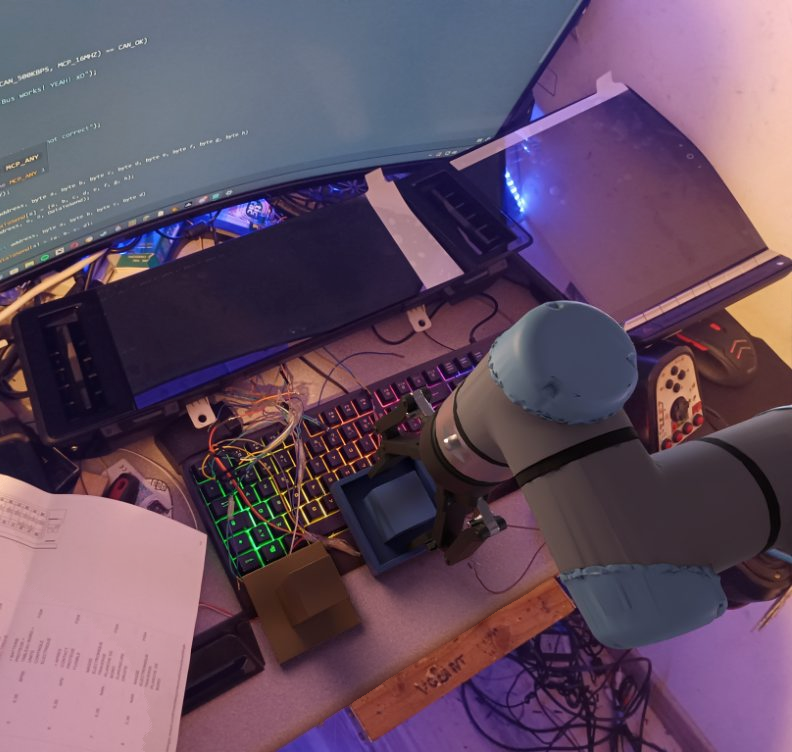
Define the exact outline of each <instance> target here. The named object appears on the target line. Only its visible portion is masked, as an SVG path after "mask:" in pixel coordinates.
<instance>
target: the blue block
mask: <svg viewBox="0 0 792 752" xmlns="http://www.w3.org/2000/svg"><path fill="white" fill-rule="evenodd" d="M362 502H363V504H364V506H365V508H366V510H367V512H368V514H369V516H370V517H371V519H372V521H373V523H374V525H375V527H376V529H377V531H378V533H379V535H380V537H381V539H382V541H383V543H384V544H385V543H387V542H389V541H391V540H393V539H395V538H397V537H399V536H401V535H403V534H405V533H408V532H410V531H412V530H414V529H416V528H418V527H420V526H422V525H424V524H425V523H427V522H428V521H430V520H431V519H433V518H434V517H435V516H436V509H435V507H434V505H433V503H432V502H431V500H430V498H429V496H428V494H427V492H426V490H425V489H424V487H423V485H422V483H421V481H420V479H419V478H418V476H417V474H416V472H415V471H412V472H410V473H408V474H405V475H403V476H401V477H399V478H397V479H394V480H392V481H390V482H388V483H386V484H383V485H381V486H379V487H377V488H375V489H373V490H372V491H371V492H370V493H369V494H368V495H367V496H366V498H365V499H364V500H363V501H362Z"/></svg>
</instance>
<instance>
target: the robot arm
mask: <svg viewBox="0 0 792 752" xmlns="http://www.w3.org/2000/svg"><path fill="white" fill-rule="evenodd" d="M637 355H638V353H637V350H636V347H635V344H634V342H633V341H632V339H631V337H630V336H629V334H628V333H627V331H626V330H625V329H624V328H623V327H622V325H621V324H620V323H618V322H617V321H616V320H615V319H614V318H613V317H611V316H610V314H608V313H606V312H605V311H603V310H601V309H599V308H598V307H596V306H593V305H591V304H588V303H584V302H581V301H576V300H556V301H555V300H554V301H546V302H544V303H541V305H537V306H536V307H534V308H532V309H530V310H529V311H528V312H527V313H525V314H524V315H523V316H522V317H521V318H520V319H519V320H517V322H515V323H514V324H513V325H512V326H511V327H510V328H509V329H507V330H505V331H504V332H503V333H501V335H500V336H497V337H496V338H495V340H494V342H493V343H492V344H491V346H490V349H489V351H488V352H487V353H486V354H485V356H484V357H482V359H481V360H480V361H479V363H478V364H477V365H476V366H475V367H474V368H473V370H472V371H471V372H470V373H469V374H467V376H466V377H464V379H463V380H462V381H461V382H459V384H458V385H457V386H456V388H455V389H454V390H453V391H452V392H451V393H450V395H448V396H447V397H446V398H445V400H444V401H443V402H442V403H441V404H440V405H439V406H438V408H436V410H434V408H433V406H432V404H431V400H432V397H433V396H432V392H431V390H430V388H429V387H428V386H427V385H425V386H422V387H420V388H418V389H415V390H413V391H410V392H407V393H406V394H403V395H401V396H400V398H399V400H398V403H397V406H396V407H395V408H394V409H392V410H391V411H389V412H388V413H386V414H385V415H384V416H381V417H380V418H379V419H377V420H376V421H374V422H373V423H372V429H373V431H374V433H375V434H376V435H380V437H381V441H379V446H378V447H377V449H376V451H375V454H376V456H377V458H378V459H377V460H376V462H375V463H374V464H375V465H374V464H373V465H374V466H373V467H372V468H371V470H370V471H369V472H368V475H369V477H370V479H373V478H375V477H377V476H380V475H382V474H384V473H386V472H388V471H391V470H393V469H394V468H395V467H396V465H397V464H398V463H399V462H400V461H401V460H402V459H403V458H404V457H405V456H411V459H412V460H419V461H422V462H423V465H424V467H425V469H426V470H427V472H428V473H429V475H430V476H431V477H432V479H433V480H434V482H435V485H436V493H435V499H434V501H435V502H436V504H437V505H438V506H437V511H436V517H435V522H434V527H433V529H432V530H430V531H427V532H425V533H424V534H422V535H421V536H419V537H418V538H416V539H415V540H413V541H412V542H410V543H409V544H407V545H405V546H406V548H407V550H408V552H411V551H413V550H415V549H417V548H419V547H421V546H423V545H425V547H426V549H427V550H426V551H427V552H428V553H429V554H434V553H437V552H438V551H440V550H441V551H443V555H442V558H443V560H444V563H445V564H446V566H448V567H452V566H454V565H456V564H458V563H460V562H462V561H464V560H466V559H468V558H471V557H472V556H473V555H474V554H475V553H476V552H477V551H478V550H479V549H480V548H481V547H482V546H483V545H484V543H485V542H486V541H487V540H488V539H489V538H492V537H493V536H495V535H498V534H499V533H501V532H503V531H506V530H507V529H508V523H507V521H506V519H505V518H504V517H503V516H502V515H495V512H494V511H492V510H491V509H490V506H489V504H488V502H489V500H490V498H491V493H492V491H494V490H495V489H497V488H498V487H500V486H501V485H503V484H505V483H506V482H508V481H509V480H510V479H512V478H513V477H514V478H515V480H516V482H517V484H518V487H519V488H520V491H521V492H522V495H523V497H524V499H525V502H526V503H527V505H528V507H529V510H530V512H531V514H532V516H533V518H534V521H535V522H536V525H537V528H538V529H539V531H540V533H541V536H542V537H543V540H544V542H545V544H546V546H547V548H548V550H549V553H550V555H551V557H552V559H553V561H554V563H555V565H556V567H557V570H558V572H559V580H560V583H561V584H563V585H564V586H565V587H566V589H567V591H568V593H569V594H570V596H571V598H572V599H573V602H574V603H575V605H576V607H577V609H578V610H579V613H580V614H581V616H582V618H583V619H584V622H585V623H586V625H587V627H588V629H589V631H590V633H591V634H592V636H593V637H594V638H595V639H596V641H598V642H599V643H600V644H602V645H603V646H605V647H608V648H610V649H616V650H631V649H636V648H642V647H647V646H650V645H655V644H659V643H661V642H665V641H670V640H671V639H675V638H677V637H680V636H683V635H686V634H688V633H691V632H693V631H696V630H698V629H701V628H703V627H706V626H707V625H709V624H711V623H713V621H715V620H717V619H719V618H720V617H722V616H723V615H724V614H725V613H726V611H727V609H728V606H729V604H728V597H727V596H726V593H725V591H724V589H723V587H722V584H721V576H720V575H718V574H719V573H721V572H723V571H726V570H727V569H730V568H732V567H735V566H736V565H738V564H741V563H743V562H746V561H748V560H750V559H753V558H755V557H757V556H760V555H761V554H763V553H766V552H768V551H772V550H774V549H780V550H782V551H783V552H785V553H786V554H787V555H789V556H790V557H792V404H790V405H783V406H778V407H774V408H771V409H768V410H765V411H763V412H760V413H757V414H755V415H754V416H752V417H751V418H750V419H747V420H743V421H741V422H738V423H736V424H733V425H731V426H728V427H724V428H722V429H720V430H717V431H715V432H712V433H709V434H707V435H704V436H701V437H697V438H694V439H692V440H689V441H685V442H683V443H679V444H678V445H674V446H672V447H668V448H666V449H663V450H660V451H657V452H654V453H651V454H650V453H649V452H648V451H647V449H646V448H645V446H644V445H643V443H642V440H641V438H640V437H639V435H638V433H637V431H636V429H635V427H634V425H633V424H632V422H631V420H630V418H629V416H628V414H627V413H626V411H625V409H624V406H625V403H626V402H627V401H628V400H629V399H630V398H631V396H632V395H633V393H634V391H635V389H636V387H637V384H638V381H639V371H638V362H637V361H638V359H637ZM412 418H414V420H419V419H421V420H420V422H419V429H420V433H419V432H410V429H409V428H408V429H406V430H404V431H402V432H400V430H399V428H398V427H400V426H401V425H403V424H405V423H406V422H409V421H410V420H411V419H412ZM468 509H472V511H473V513H472V515H471V516H470V517H471V519H470V520H468V521H466V518H467V517H466V516H467V512H468ZM465 521H466V528H464V525H465Z"/></svg>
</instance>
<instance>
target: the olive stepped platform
mask: <svg viewBox="0 0 792 752" xmlns="http://www.w3.org/2000/svg"><path fill="white" fill-rule="evenodd" d="M241 581H242V583H243V585H244V588H245V590H246V592H247V594H248V596H249V599H250V601H251V603H252V606H253V608H254V610H255V613H256V615H257V618H258V620H259V621H260V624H261V626H262V629H263V631H264V633H265V636H266V638H267V640H268V642H269V645H270V648H271V649H272V652H273V654H274V657H275V658H276V661H277V663H278V665H281V664H284V663H285V662H287V661H290V660H291V659H293V658H295V657H297V656H299V655H301V654H304V653H305V652H306V651H308V650H311V649H313V648H315V647H316V646H319V645H320V644H322V643H324V642H326V641H329V640H330V639H333V638H334V637H336V636H338V635H340V634H341V633H343V632H346V631H347V630H349V629H352V628H353V627H355V626H357V625H360V624H361V620H360V618H359V616H358V613H357V612H356V610H355V607H354V605H353V603H352V601H351V599H350V598H351V596H350V594H349V591H348V590H347V587H346V585H345V583H344V581H343V579H342V577H341V574H340V573H339V570H338V569H337V566H336V565H335V562H334V560H333V558H332V556H331V554H330V553H328V552H327V549H326V547H325V545H324V543H323V541H322V539H320V540H317V541H315V542H314V543H311V544H309V545H306V546H305V547H302V548H300V549H298V550H296V551H294V552H291V553H290V554H287V555H285V556H284V557H281V558H279V559H278V560H275V561H273V562H270V563H268V564H266V565H264V566H262V567H260V568H258V569H256V570H254V571H252V572H249V573H247V574H245V575H243V576H242V577H241Z"/></svg>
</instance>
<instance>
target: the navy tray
mask: <svg viewBox="0 0 792 752" xmlns="http://www.w3.org/2000/svg"><path fill="white" fill-rule="evenodd" d="M375 464H376V463H374V464H372V465H370V466H368V467H366V468H363V469H361V470H359V471H357V472H355V473H352V474H350V475H348V476H346V477H343V478H340V479H338V480H336V481H334V482H333V483H332V484H331V485H330V486H329V491H330V494H331V495H332V498H333V500H334V502H335V504H336V506H337V508H338V511H339V512H340V514H341V516H342V518H343V520H344V522H345V524H346V526H347V528H348V530H349V532H350V535H351V536H352V538H353V540H354V543H355V544H356V545H357V548H358V550H359V552H360V554H361V556H362V558H363V560H364V562H365V564H366V566H367V568H368V570H369V572H370V574H371V577H372V578H375V577H376V576H378V575H380V574H382V573H384V572H387V571H388V570H390V569H392V568H394V567H396V566H398V565H400V564H402V563H404V562H406V561H408V560H410V559H412V558H414V557H417V556H418V555H420V554H422V553H424V552H427V551H428V550H427V549H426V547H425V545H423V546H421V547H419V548H417V549H415V550H413V551H411V552H408V550H407V548H406V546H405V545H407V544H409V543H410V542H412V541H413V540H415V539H416V538H418V537H419V536H421V535H422V534H424V533H425V532H427V531H430V530H432V529H433V527H434V522H435V517H436V516H435V517H434V518H433V519H431V520H430V521H428V522H427V523H425V524H424V525H422V526H420V527H418V528H416V529H414V530H412V531H410V532H408V533H405V534H403V535H401V536H399V537H397V538H395V539H393V540H391V541H389V542H387V543H385V544H384V543H383V541H382V539H381V537H380V535H379V533H378V531H377V529H376V527H375V525H374V523H373V521H372V519H371V517H370V516H369V514H368V512H367V510H366V508H365V506H364V504H363V502H362V501H363V500H364V499H365V498H366V496H367V495H368V494H369V493H370V492H371V491H372V490H373V489H375V488H377V487H379V486H381V485H383V484H386V483H388V482H390V481H392V480H394V479H397V478H399V477H401V476H403V475H405V474H408V473H410V472H412V471H415V472H416V474H417V476H418V478H419V479H420V481H421V483H422V485H423V487H424V489H425V490H426V492H427V494H428V496H429V498H430V500H431V502H432V503H433V505H434V507H435V509H436V511H437V506H438V505H437V504H436V502H435V501H434V499H435V493H436V485H435V481H434V480H433V479H432V477H431V476H430V475H429V473H428V472H427V470H426V469H425V467H424V465H423V462H422V461H419V460H412V459H411V456H405V457H404V458H403V459H402V460H401V461H400V462H399V463H398V464H397V465H396V467H395V468H394V469H393V470H391V471H388V472H386V473H384V474H382V475H380V476H377V477H375V478H373V479H370V477H369V475H368V472H369V471H370V470H371V468H372V467H373V466H374V465H375Z"/></svg>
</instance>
